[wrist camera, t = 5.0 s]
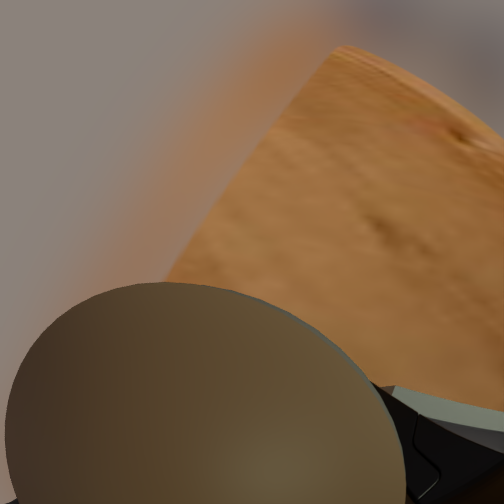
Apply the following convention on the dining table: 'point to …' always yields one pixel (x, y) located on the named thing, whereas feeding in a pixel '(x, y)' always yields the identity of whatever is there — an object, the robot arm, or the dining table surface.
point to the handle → (195, 407)
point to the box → (456, 416)
